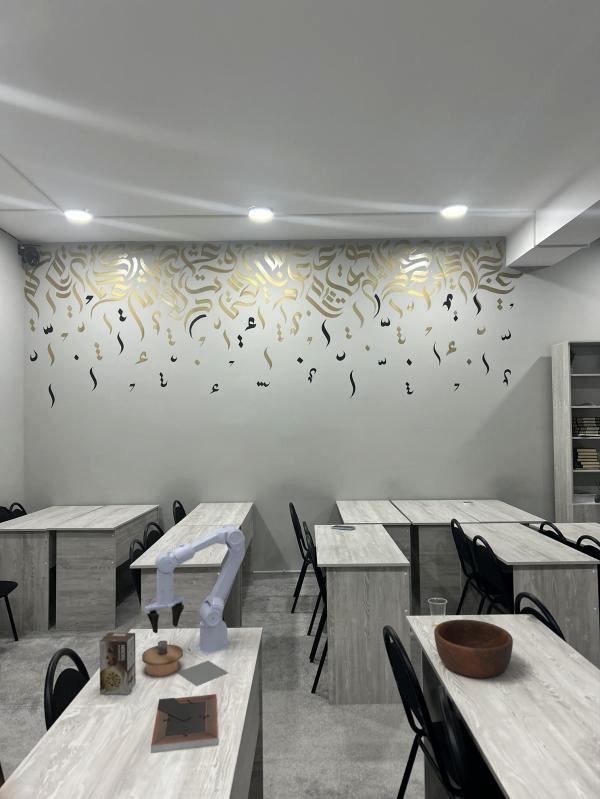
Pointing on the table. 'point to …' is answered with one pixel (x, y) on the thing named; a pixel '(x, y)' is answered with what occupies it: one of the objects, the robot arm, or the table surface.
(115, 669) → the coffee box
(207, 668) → the mat
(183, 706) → the picture frame
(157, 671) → the bowl
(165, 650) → the lid
